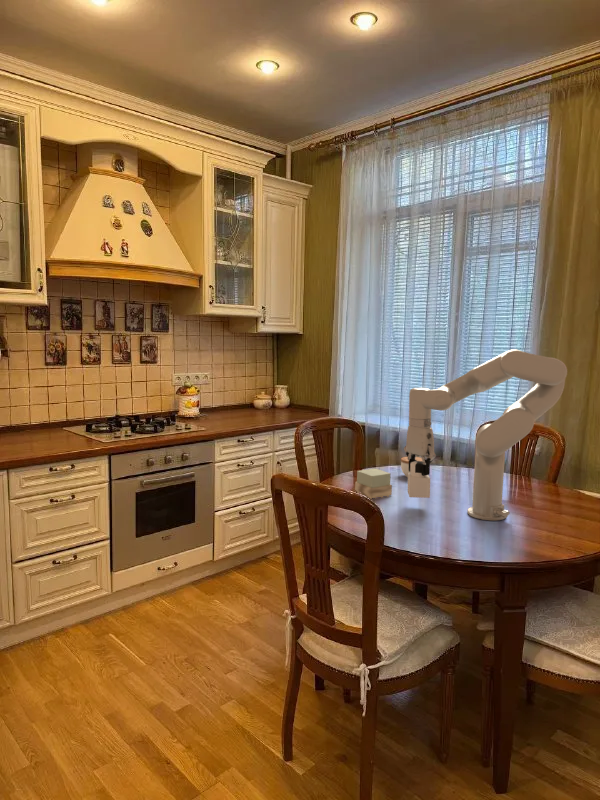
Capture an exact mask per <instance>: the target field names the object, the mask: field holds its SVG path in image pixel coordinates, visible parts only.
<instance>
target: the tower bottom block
mask: <svg viewBox="0 0 600 800" xmlns="http://www.w3.org/2000/svg"><path fill="white" fill-rule="evenodd" d="M354 483H355V484H354V493H355V492H356V491H357V493H356V494H358V493H359V492H361V493H360V494H362V495H365V496H367V497H368V498H367V497H366V498H367V499H369V498H370V499H369V500H373V499H372V498H375V499H377V498H376V497H381V498H384V497H383V496H387V497H390V496H389V495H393V494H392V493H393V492H392V491H393V485H392V484H390V485H387V486H381V487H375V488H371V487H368V486H365V485H363V484H360V483H357V481H355V482H354ZM355 490H356V491H355ZM360 494H359V495H360ZM362 495H361V496H362Z"/></svg>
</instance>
